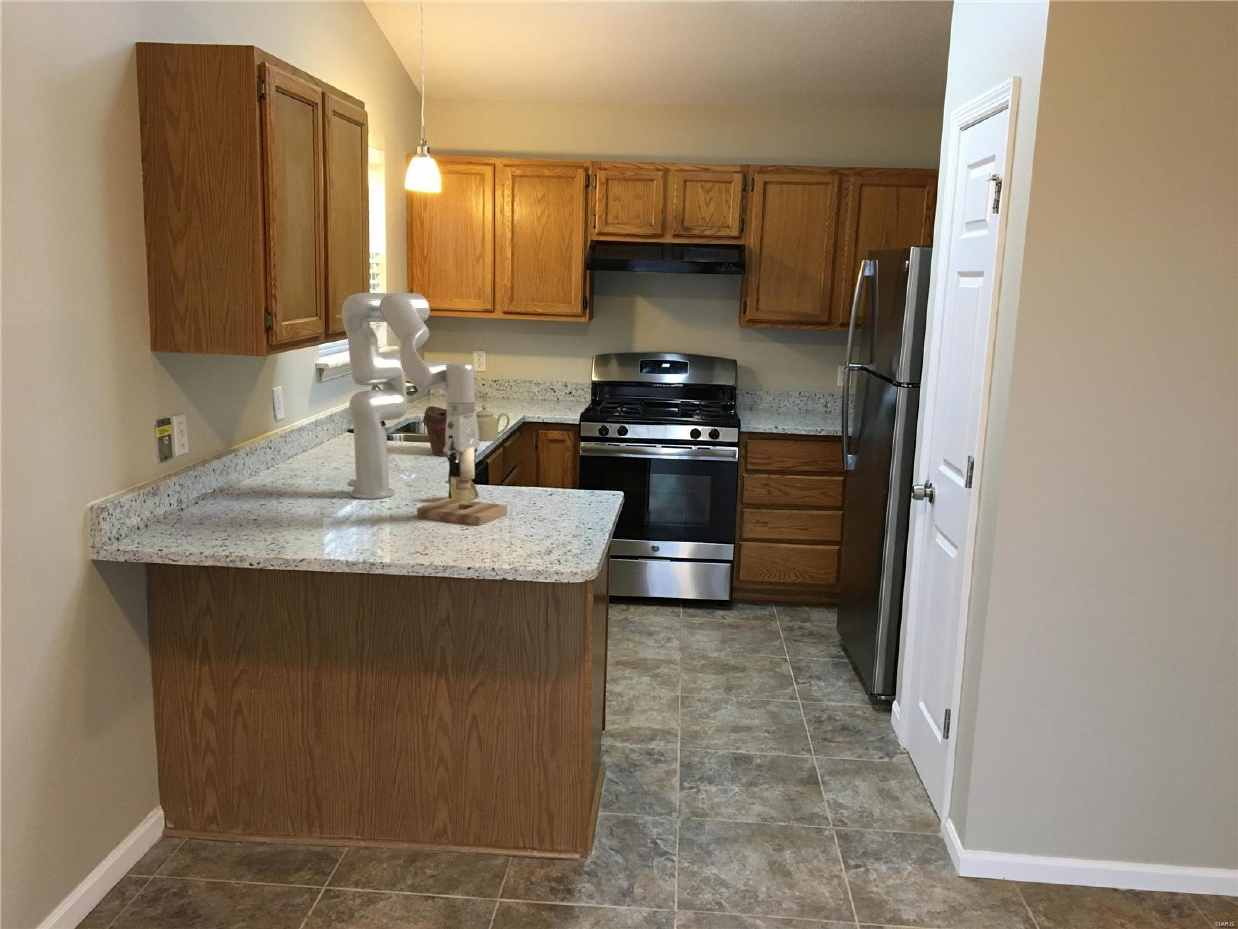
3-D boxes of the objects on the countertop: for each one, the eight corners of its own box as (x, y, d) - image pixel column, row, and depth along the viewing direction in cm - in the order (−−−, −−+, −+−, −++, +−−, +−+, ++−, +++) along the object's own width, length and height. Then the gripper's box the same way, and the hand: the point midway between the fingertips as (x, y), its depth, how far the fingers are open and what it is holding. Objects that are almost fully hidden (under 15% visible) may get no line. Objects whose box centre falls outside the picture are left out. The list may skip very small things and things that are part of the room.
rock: (476, 487, 284) (444, 484, 281) (483, 468, 279) (449, 465, 275) (479, 514, 277) (446, 512, 274) (486, 495, 271) (452, 493, 268)
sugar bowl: (497, 435, 401) (497, 401, 398) (511, 439, 392) (510, 403, 390) (466, 438, 392) (466, 403, 390) (479, 442, 384) (479, 405, 381)
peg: (446, 489, 254) (445, 448, 252) (460, 485, 260) (458, 444, 258) (466, 491, 251) (465, 449, 249) (479, 487, 257) (478, 446, 255)
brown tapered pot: (479, 456, 349) (478, 409, 346) (425, 459, 344) (423, 410, 341) (474, 449, 366) (473, 404, 363) (422, 451, 361) (420, 405, 358)
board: (417, 517, 255) (417, 508, 254) (447, 507, 267) (446, 498, 267) (479, 525, 247) (479, 516, 246) (507, 514, 259) (507, 505, 259)
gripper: (453, 413, 242) (455, 481, 245) (490, 406, 258) (491, 470, 261) (430, 411, 245) (432, 478, 249) (467, 405, 261) (468, 468, 264)
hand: (462, 473), depth 255 cm, fingers closed on peg, 6 cm apart
